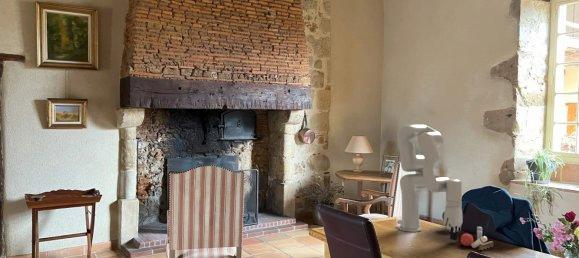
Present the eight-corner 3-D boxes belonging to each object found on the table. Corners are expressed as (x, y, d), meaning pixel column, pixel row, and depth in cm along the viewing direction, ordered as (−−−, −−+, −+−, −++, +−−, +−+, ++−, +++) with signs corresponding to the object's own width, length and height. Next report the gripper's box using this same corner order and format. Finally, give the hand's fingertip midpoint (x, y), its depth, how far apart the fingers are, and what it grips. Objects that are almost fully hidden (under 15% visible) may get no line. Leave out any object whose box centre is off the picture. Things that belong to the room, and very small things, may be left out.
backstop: (478, 250, 214) (478, 245, 214) (491, 246, 221) (491, 241, 221) (481, 250, 213) (481, 245, 213) (493, 246, 220) (493, 241, 220)
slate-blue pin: (476, 244, 225) (476, 227, 225) (478, 243, 226) (478, 226, 226) (480, 245, 223) (480, 228, 223) (483, 244, 224) (483, 227, 224)
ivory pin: (471, 247, 217) (483, 239, 211) (470, 242, 219) (482, 235, 213) (475, 248, 218) (487, 241, 212) (474, 244, 219) (486, 236, 214)
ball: (469, 237, 217) (468, 249, 218) (476, 234, 220) (475, 245, 222) (458, 233, 222) (457, 244, 223) (465, 230, 225) (465, 241, 226)
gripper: (455, 201, 235) (455, 235, 236) (438, 204, 226) (438, 240, 227) (468, 203, 229) (468, 238, 230) (451, 206, 220) (451, 243, 221)
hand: (453, 239), depth 228 cm, fingers closed
